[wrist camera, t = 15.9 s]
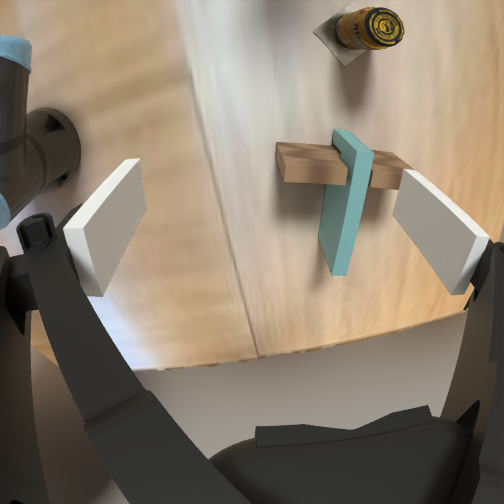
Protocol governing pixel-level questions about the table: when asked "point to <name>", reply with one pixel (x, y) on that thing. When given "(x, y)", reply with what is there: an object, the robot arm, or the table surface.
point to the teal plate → (345, 203)
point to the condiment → (360, 31)
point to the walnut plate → (334, 166)
